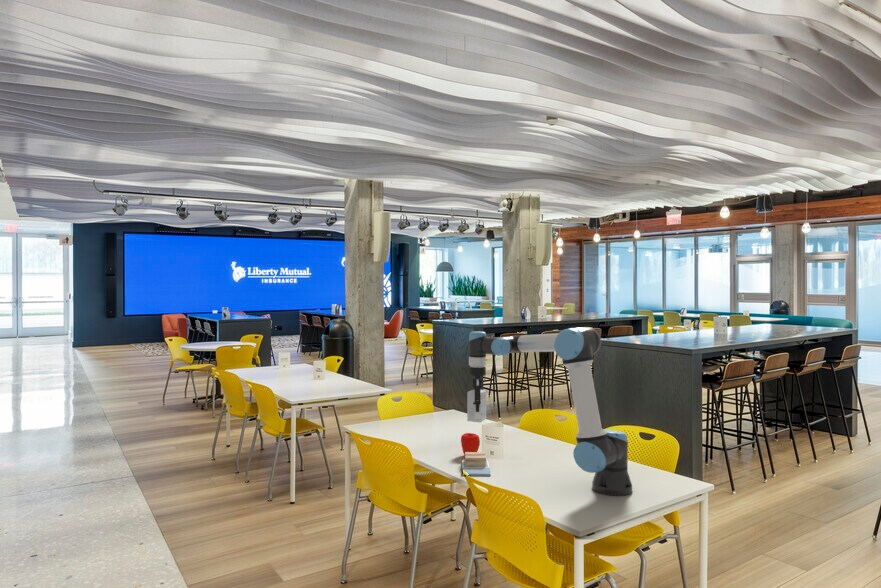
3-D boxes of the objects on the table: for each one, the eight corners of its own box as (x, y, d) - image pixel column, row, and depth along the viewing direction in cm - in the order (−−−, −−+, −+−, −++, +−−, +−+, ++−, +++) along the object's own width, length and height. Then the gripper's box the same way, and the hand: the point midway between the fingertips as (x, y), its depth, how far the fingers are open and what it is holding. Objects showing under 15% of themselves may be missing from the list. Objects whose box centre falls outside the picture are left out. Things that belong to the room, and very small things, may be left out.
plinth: (485, 467, 256) (485, 457, 256) (465, 466, 256) (465, 457, 256) (485, 461, 265) (485, 452, 265) (465, 460, 265) (465, 452, 265)
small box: (473, 417, 265) (473, 388, 265) (486, 419, 262) (486, 390, 262) (466, 421, 257) (467, 391, 257) (480, 422, 255) (480, 392, 255)
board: (490, 476, 246) (490, 473, 246) (462, 475, 247) (462, 473, 247) (488, 462, 266) (488, 459, 266) (461, 462, 267) (461, 459, 267)
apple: (483, 455, 278) (483, 432, 278) (473, 459, 271) (473, 436, 271) (467, 452, 283) (467, 430, 283) (457, 456, 276) (457, 433, 276)
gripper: (487, 369, 248) (486, 422, 249) (484, 363, 271) (484, 411, 271) (469, 369, 249) (468, 421, 249) (468, 362, 271) (468, 411, 271)
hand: (476, 416), depth 260 cm, fingers closed on small box, 10 cm apart
